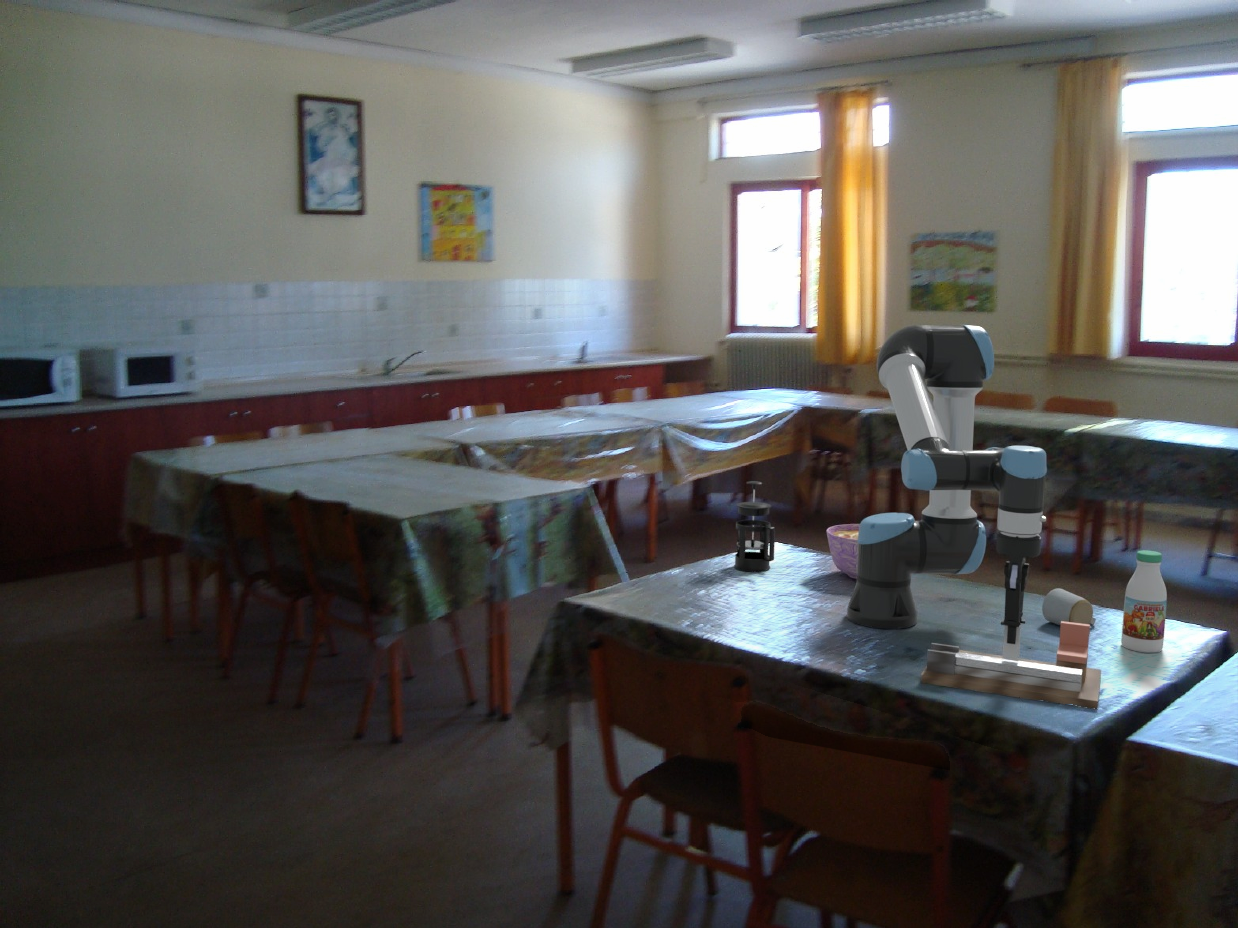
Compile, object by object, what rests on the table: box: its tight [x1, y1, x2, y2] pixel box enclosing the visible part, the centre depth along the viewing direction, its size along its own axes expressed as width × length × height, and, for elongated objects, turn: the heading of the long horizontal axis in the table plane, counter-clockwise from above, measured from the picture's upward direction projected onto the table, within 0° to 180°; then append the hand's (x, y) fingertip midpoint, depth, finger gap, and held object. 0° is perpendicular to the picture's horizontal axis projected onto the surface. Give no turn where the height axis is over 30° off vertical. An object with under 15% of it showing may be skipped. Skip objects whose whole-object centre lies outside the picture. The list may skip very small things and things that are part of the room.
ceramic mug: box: [1041, 587, 1097, 627], centre depth 236 cm, size 11×8×8 cm
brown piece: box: [920, 642, 1102, 710], centre depth 202 cm, size 30×18×6 cm, turn 65°
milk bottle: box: [1120, 549, 1168, 654], centre depth 220 cm, size 8×8×20 cm
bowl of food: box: [826, 523, 860, 580], centre depth 277 cm, size 20×20×12 cm
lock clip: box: [1056, 621, 1091, 664], centre depth 201 cm, size 5×8×5 cm, turn 155°
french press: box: [733, 480, 776, 573], centre depth 283 cm, size 12×9×23 cm
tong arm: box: [944, 650, 1082, 683], centre depth 198 cm, size 24×3×2 cm, turn 65°
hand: (1010, 658), depth 198 cm, fingers closed
